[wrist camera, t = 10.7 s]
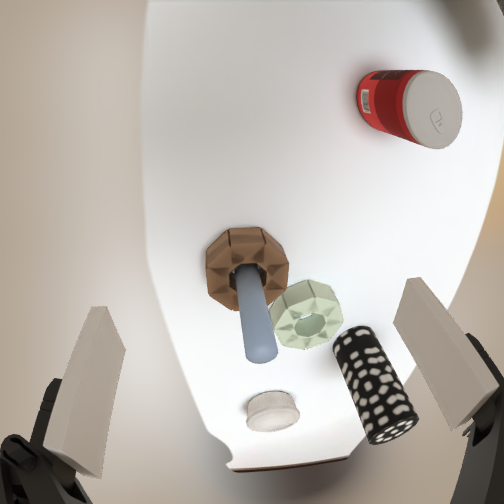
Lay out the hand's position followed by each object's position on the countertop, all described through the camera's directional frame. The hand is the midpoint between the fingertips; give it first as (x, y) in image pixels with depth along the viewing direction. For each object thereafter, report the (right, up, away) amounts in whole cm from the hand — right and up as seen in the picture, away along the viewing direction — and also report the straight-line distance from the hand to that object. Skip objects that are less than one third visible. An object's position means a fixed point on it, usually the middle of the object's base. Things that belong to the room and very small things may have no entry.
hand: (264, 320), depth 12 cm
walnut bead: (-1, +2, +28) cm, 28 cm away
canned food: (+16, +22, +19) cm, 33 cm away
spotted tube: (+18, -14, +40) cm, 46 cm away
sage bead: (+7, -6, +33) cm, 35 cm away
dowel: (-1, +2, +28) cm, 28 cm away
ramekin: (+3, -29, +47) cm, 55 cm away
